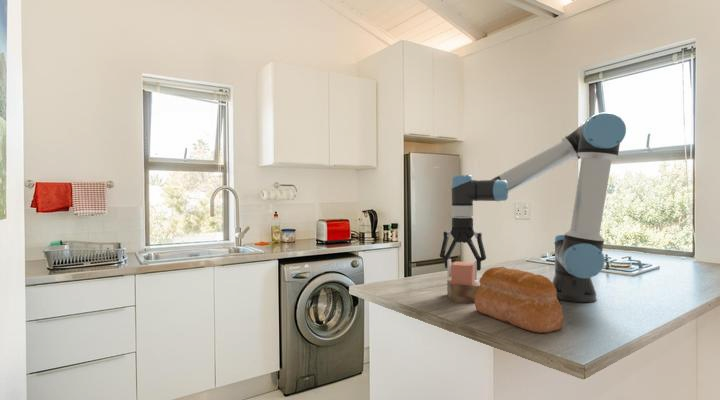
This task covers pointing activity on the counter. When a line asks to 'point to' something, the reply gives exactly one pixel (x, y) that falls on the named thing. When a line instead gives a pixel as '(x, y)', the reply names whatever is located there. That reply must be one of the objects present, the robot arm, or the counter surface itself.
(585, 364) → the counter surface
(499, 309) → the bread
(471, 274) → the pink cube
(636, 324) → the counter surface
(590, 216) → the robot arm
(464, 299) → the walnut plinth
